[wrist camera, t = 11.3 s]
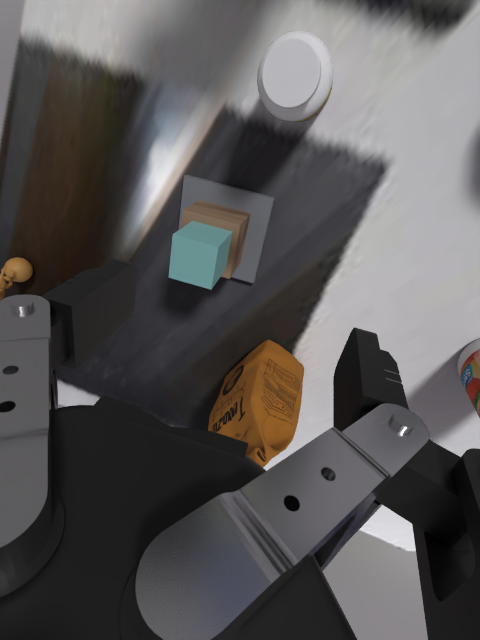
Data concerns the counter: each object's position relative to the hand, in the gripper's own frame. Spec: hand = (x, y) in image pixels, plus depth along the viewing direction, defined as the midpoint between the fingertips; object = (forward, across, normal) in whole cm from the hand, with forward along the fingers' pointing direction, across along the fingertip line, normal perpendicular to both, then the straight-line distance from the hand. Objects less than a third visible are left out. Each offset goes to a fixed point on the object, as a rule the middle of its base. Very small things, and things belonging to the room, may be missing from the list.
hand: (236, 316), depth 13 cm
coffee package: (+36, -2, +30) cm, 47 cm away
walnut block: (+35, +9, +9) cm, 37 cm away
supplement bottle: (+36, +3, -9) cm, 38 cm away
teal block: (+29, +9, +9) cm, 32 cm away
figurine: (+36, +40, +24) cm, 59 cm away
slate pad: (+36, +9, +9) cm, 38 cm away
